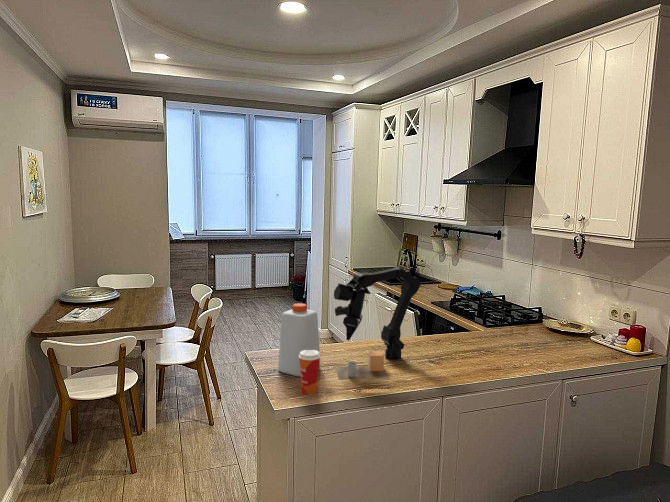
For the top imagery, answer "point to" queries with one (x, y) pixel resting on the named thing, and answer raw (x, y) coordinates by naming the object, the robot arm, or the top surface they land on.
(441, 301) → the top surface
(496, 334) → the top surface
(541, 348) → the top surface
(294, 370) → the plastic bottle
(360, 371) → the walnut board
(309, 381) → the coffee cup
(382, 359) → the square block
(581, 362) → the top surface
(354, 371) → the metal post
